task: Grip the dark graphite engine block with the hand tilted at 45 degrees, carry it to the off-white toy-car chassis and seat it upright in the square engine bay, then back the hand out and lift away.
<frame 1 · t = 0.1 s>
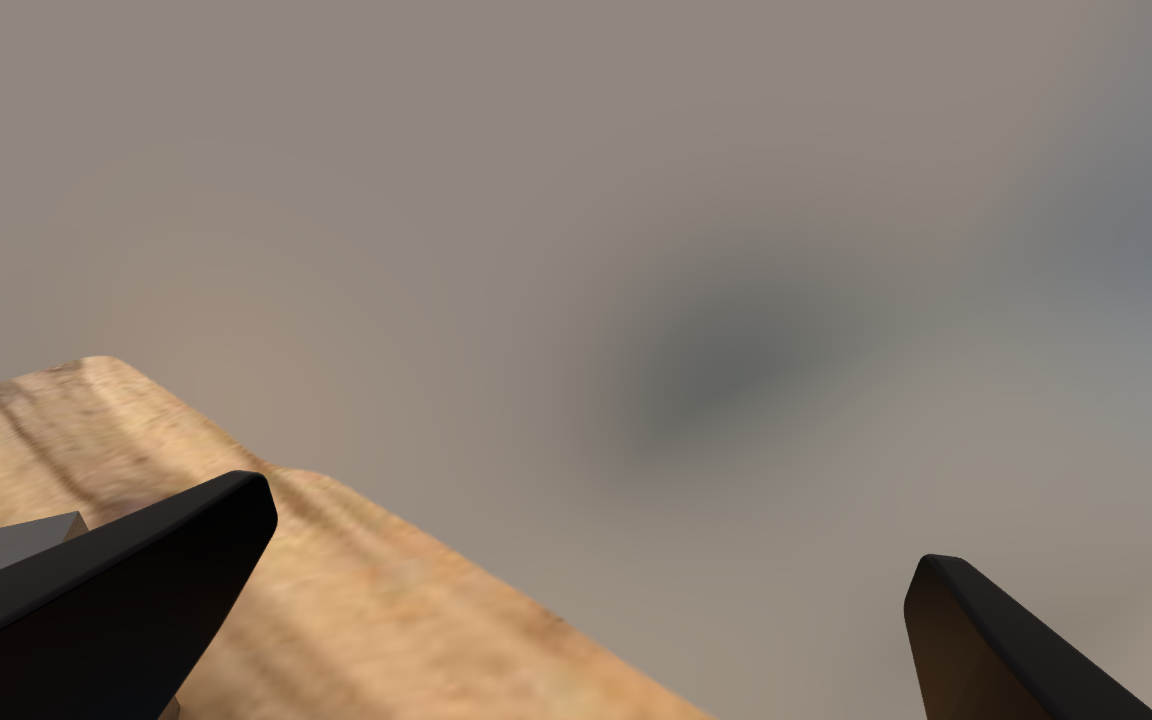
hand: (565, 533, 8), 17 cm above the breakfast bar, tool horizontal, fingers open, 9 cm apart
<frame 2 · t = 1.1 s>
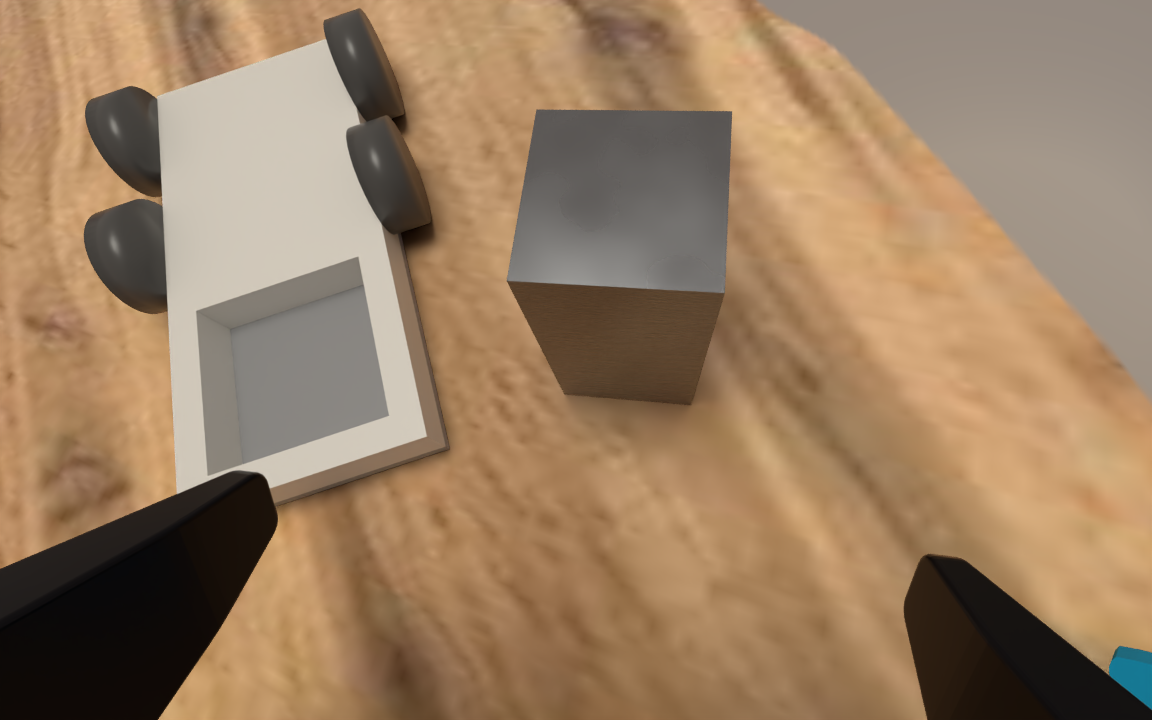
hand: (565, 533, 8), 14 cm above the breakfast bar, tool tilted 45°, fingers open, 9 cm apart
engine block: (632, 340, 23), on the breakfast bar
chassis: (322, 379, 24), on the breakfast bar
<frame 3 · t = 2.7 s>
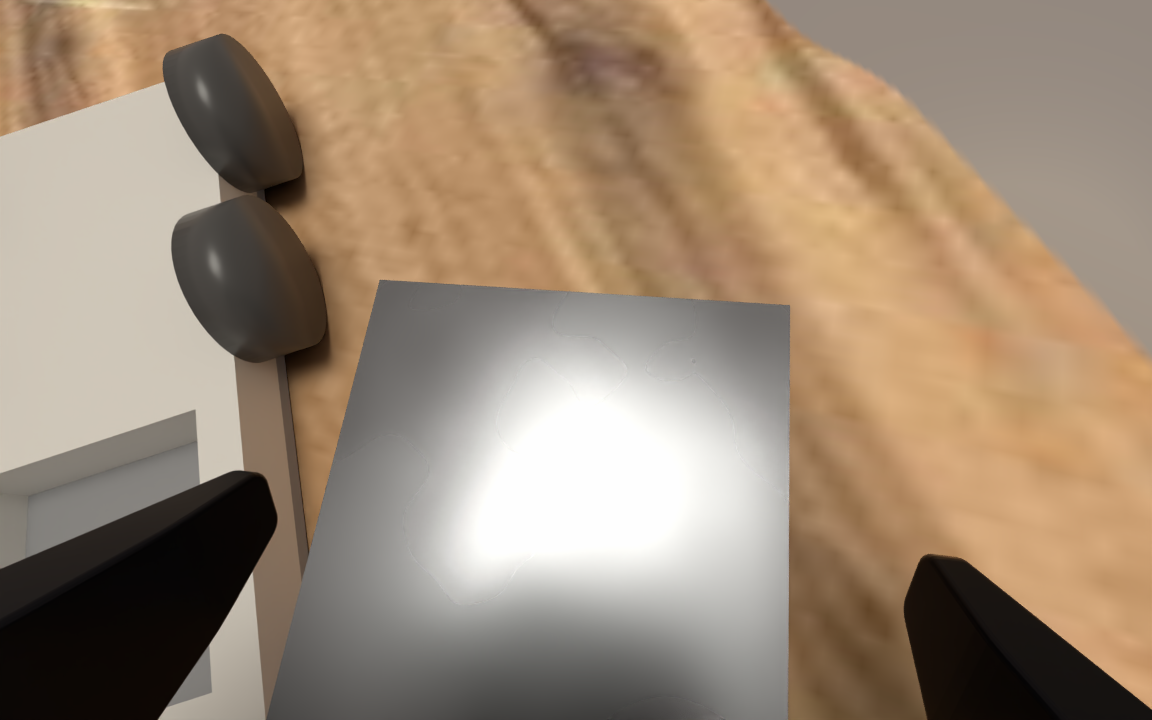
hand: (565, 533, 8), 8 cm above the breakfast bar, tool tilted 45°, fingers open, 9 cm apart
engine block: (606, 535, 15), on the breakfast bar
chassis: (153, 578, 16), on the breakfast bar
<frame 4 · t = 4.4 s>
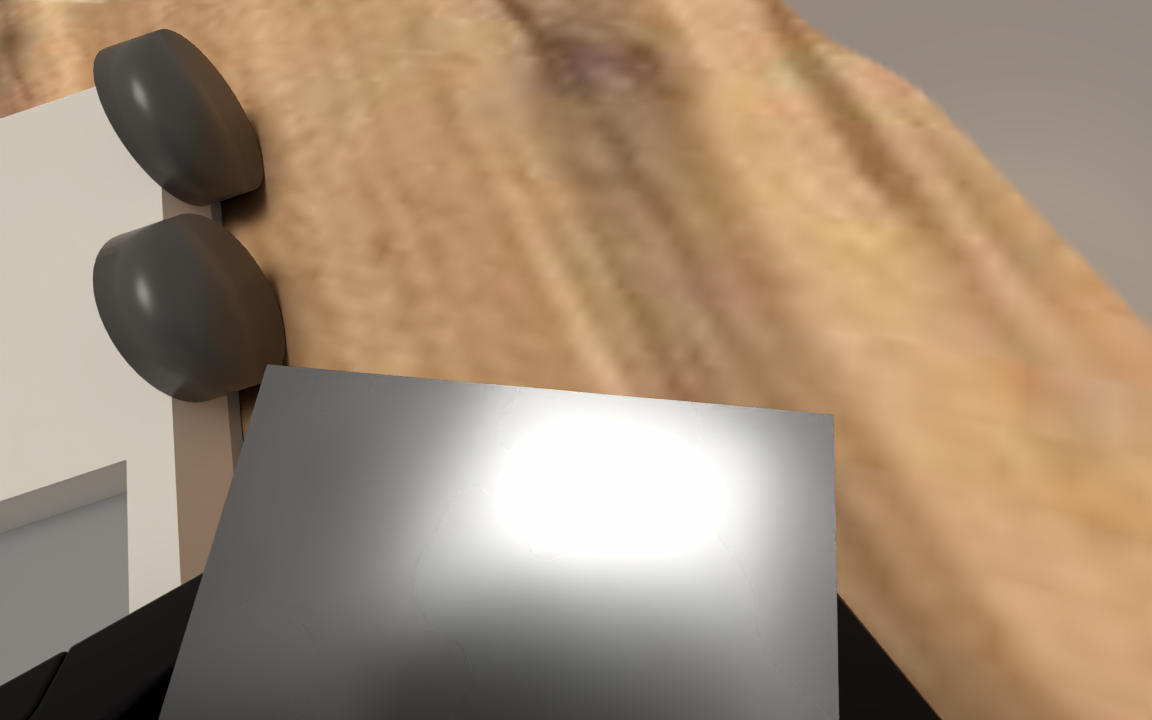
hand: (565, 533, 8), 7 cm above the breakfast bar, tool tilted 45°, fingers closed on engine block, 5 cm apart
engine block: (595, 601, 14), on the breakfast bar, touching gripper
chassis: (85, 645, 15), on the breakfast bar
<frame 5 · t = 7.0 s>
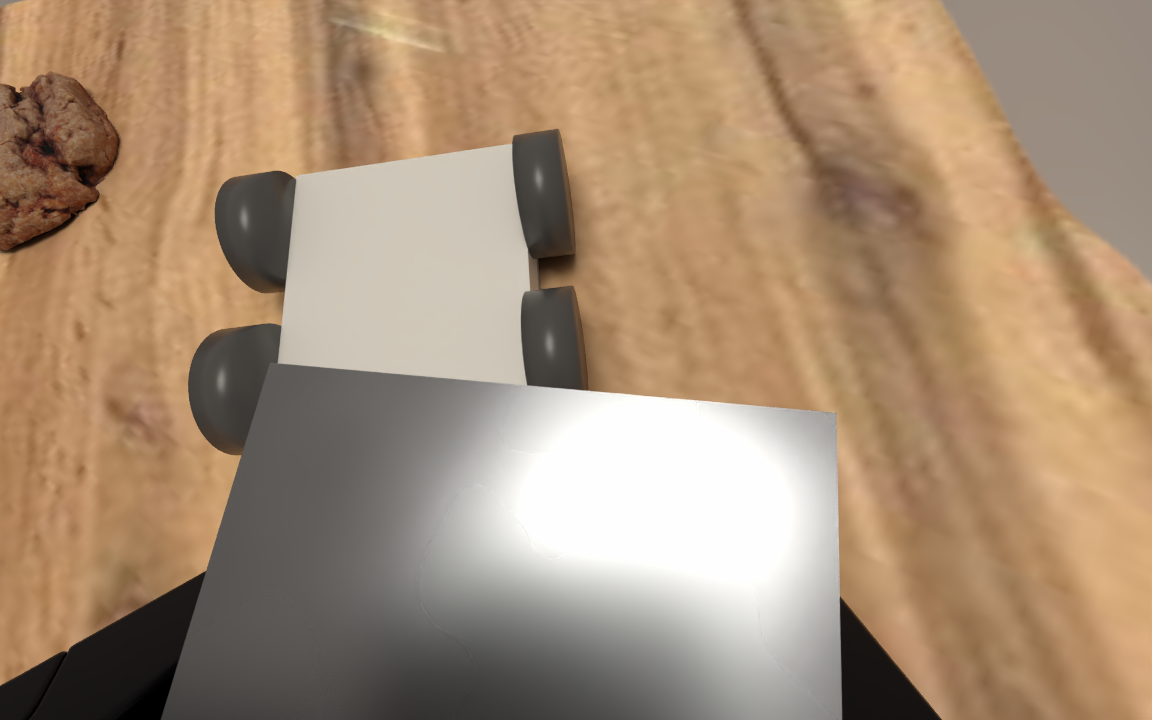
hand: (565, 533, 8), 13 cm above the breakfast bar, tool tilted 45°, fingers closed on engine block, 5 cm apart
cookie: (34, 176, 29), on the breakfast bar
engine block: (595, 600, 14), point 6 cm above the breakfast bar, touching gripper
chassis: (426, 580, 20), on the breakfast bar
when the fingers open (8 cm above the breakfast bar, at t = 9.6 s): engine block stays where it is, resting on chassis.
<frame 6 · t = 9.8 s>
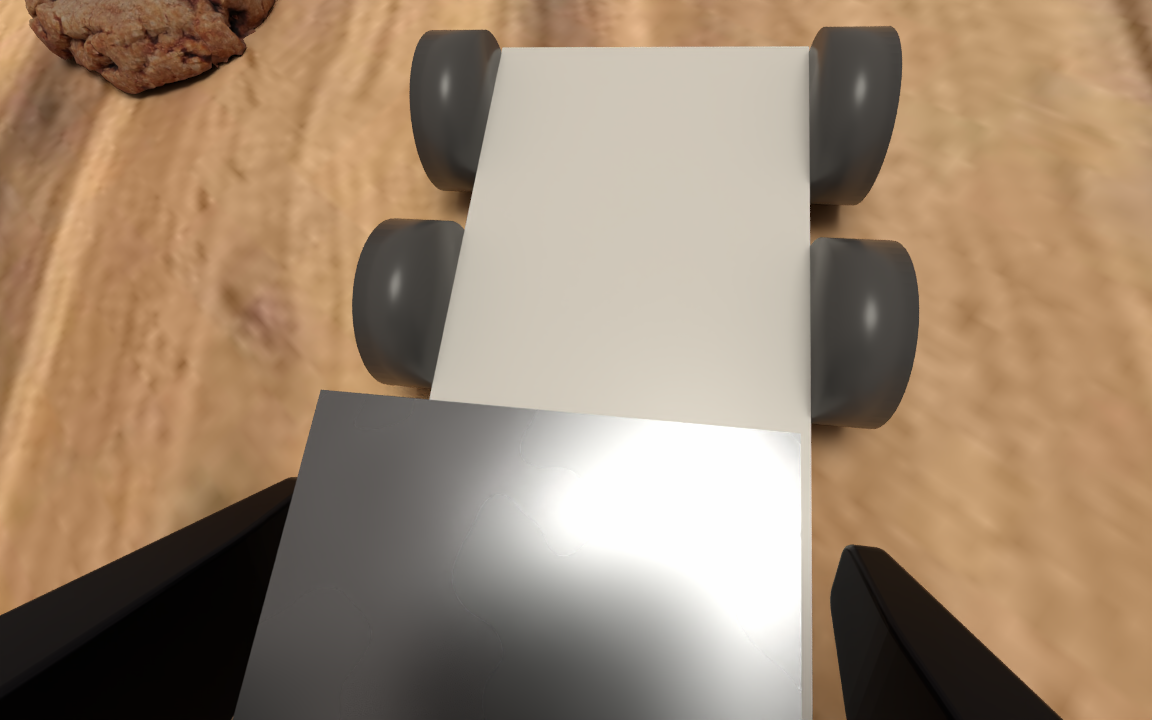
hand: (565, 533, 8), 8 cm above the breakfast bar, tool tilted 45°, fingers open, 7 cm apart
cookie: (176, 18, 25), on the breakfast bar
engine block: (597, 596, 14), resting on chassis
chassis: (599, 596, 15), on the breakfast bar
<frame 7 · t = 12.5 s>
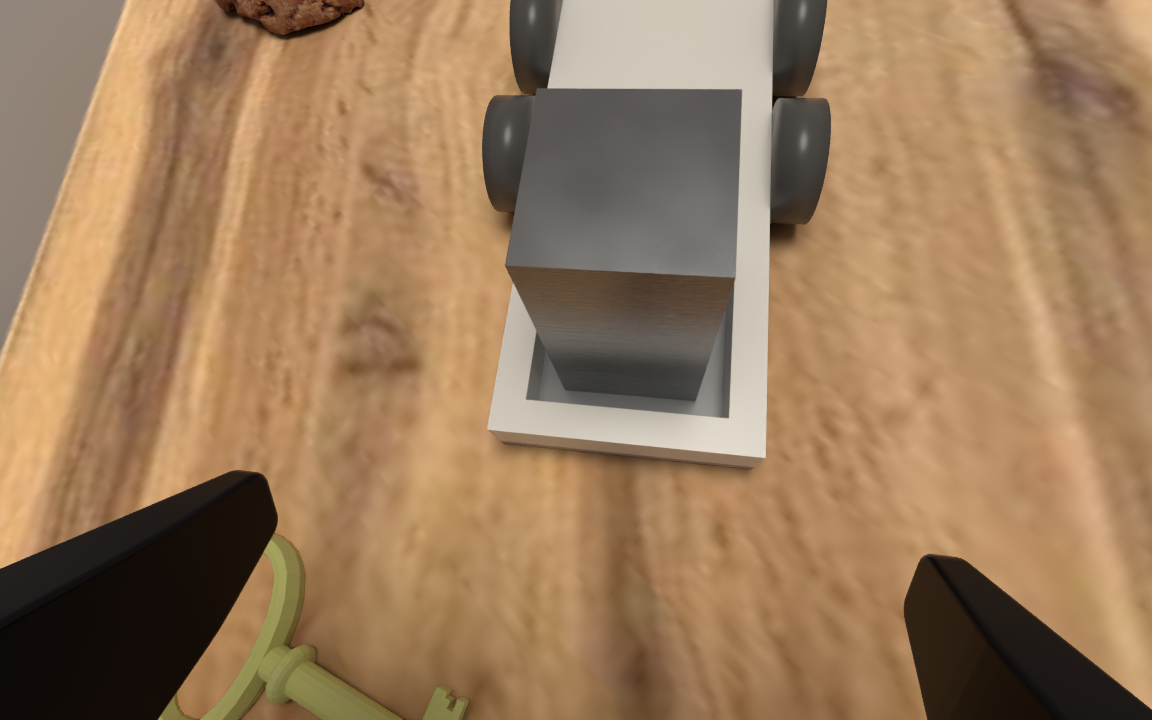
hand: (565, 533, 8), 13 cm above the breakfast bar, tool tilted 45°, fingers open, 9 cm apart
engine block: (634, 335, 22), resting on chassis
key: (311, 664, 21), on the breakfast bar
chassis: (635, 340, 23), on the breakfast bar
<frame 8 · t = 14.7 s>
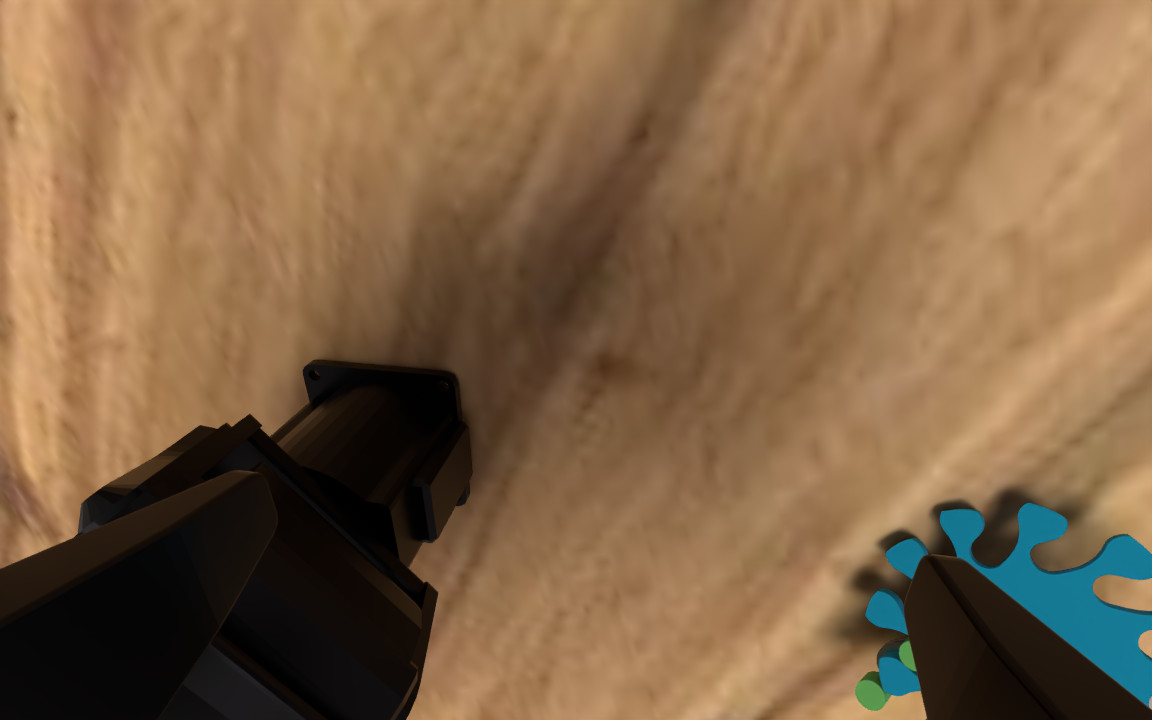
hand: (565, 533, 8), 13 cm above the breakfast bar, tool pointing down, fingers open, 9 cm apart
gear: (963, 569, 23), on the breakfast bar
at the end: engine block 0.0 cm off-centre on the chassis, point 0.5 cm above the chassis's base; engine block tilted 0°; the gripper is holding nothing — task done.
